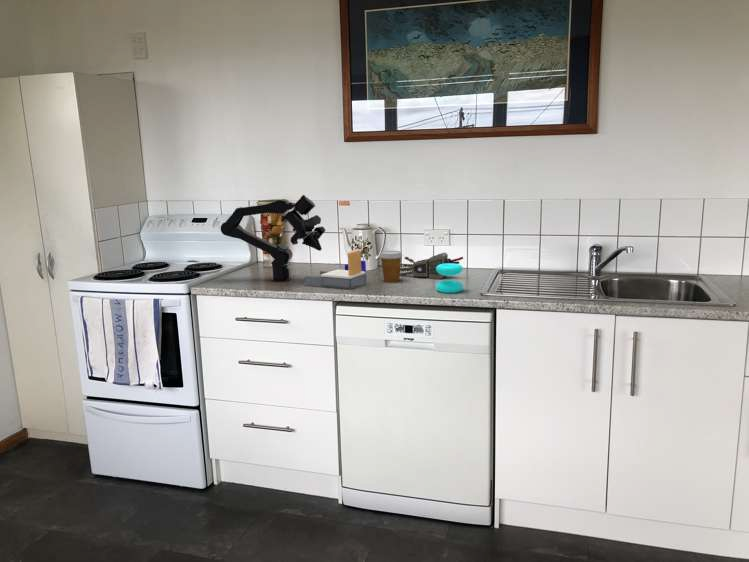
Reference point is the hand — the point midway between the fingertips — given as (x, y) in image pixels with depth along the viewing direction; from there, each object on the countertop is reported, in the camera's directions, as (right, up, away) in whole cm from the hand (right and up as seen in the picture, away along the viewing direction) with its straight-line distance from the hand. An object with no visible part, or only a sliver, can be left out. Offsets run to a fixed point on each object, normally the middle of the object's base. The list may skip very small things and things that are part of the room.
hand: (320, 249), depth 247 cm
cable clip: (+14, -11, +14) cm, 23 cm away
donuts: (+51, -17, -21) cm, 58 cm away
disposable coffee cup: (+30, -13, +1) cm, 32 cm away
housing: (+7, -14, -4) cm, 16 cm away
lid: (+10, -11, -7) cm, 16 cm away
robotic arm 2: (+46, -12, +6) cm, 48 cm away
